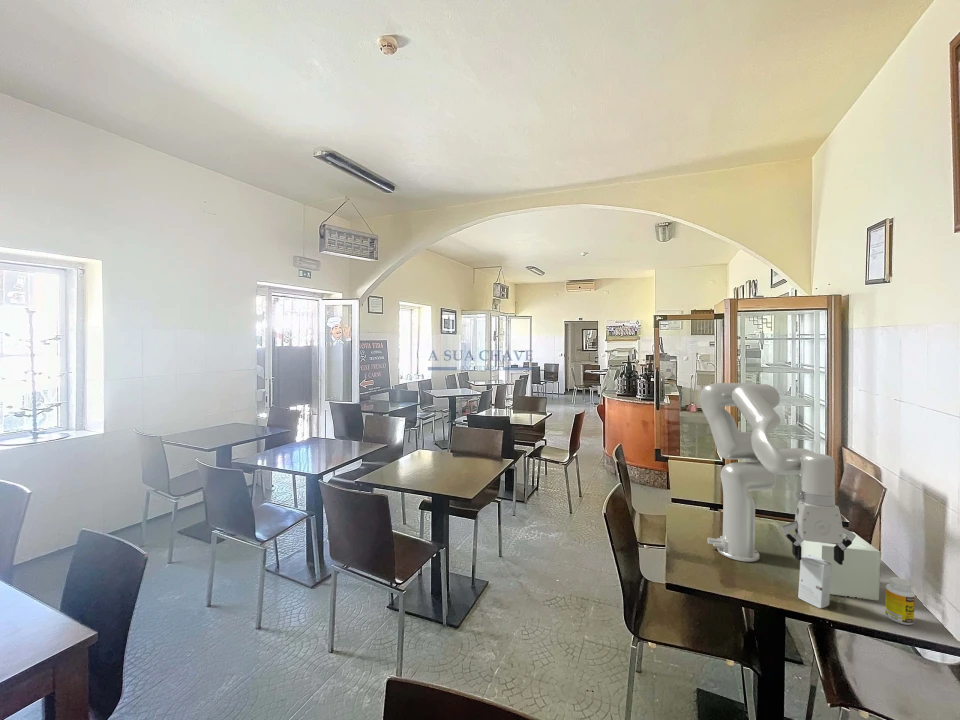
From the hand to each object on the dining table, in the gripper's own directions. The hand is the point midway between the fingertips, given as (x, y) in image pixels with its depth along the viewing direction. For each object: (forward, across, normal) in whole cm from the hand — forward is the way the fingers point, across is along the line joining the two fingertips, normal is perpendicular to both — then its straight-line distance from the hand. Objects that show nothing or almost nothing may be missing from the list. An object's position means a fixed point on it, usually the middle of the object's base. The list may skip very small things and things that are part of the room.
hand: (817, 560), depth 123 cm
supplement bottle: (+13, +18, -2) cm, 22 cm away
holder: (+12, +10, +14) cm, 21 cm away
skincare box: (+12, 0, +1) cm, 12 cm away
